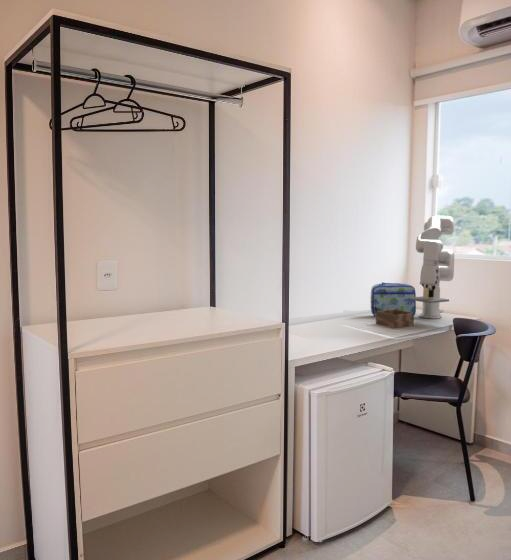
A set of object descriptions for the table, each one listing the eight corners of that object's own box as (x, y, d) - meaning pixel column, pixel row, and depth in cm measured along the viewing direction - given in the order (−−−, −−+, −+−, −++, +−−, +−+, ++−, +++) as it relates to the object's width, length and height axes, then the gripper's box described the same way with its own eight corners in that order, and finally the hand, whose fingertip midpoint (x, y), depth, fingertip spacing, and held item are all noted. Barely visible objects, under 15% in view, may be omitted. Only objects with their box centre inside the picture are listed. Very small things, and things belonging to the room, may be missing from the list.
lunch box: (370, 318, 310) (372, 283, 308) (368, 315, 321) (370, 281, 318) (416, 319, 308) (417, 284, 305) (412, 316, 318) (414, 282, 316)
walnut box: (394, 323, 297) (394, 309, 296) (413, 327, 285) (414, 313, 284) (376, 325, 290) (376, 311, 289) (395, 330, 278) (395, 315, 277)
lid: (426, 297, 298) (427, 285, 297) (449, 301, 285) (449, 288, 284) (408, 299, 290) (408, 286, 289) (430, 303, 277) (431, 290, 277)
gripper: (447, 264, 281) (445, 298, 283) (423, 262, 294) (421, 294, 296) (437, 264, 277) (436, 299, 279) (414, 262, 290) (412, 295, 292)
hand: (428, 296), depth 287 cm, fingers closed on lid, 2 cm apart
